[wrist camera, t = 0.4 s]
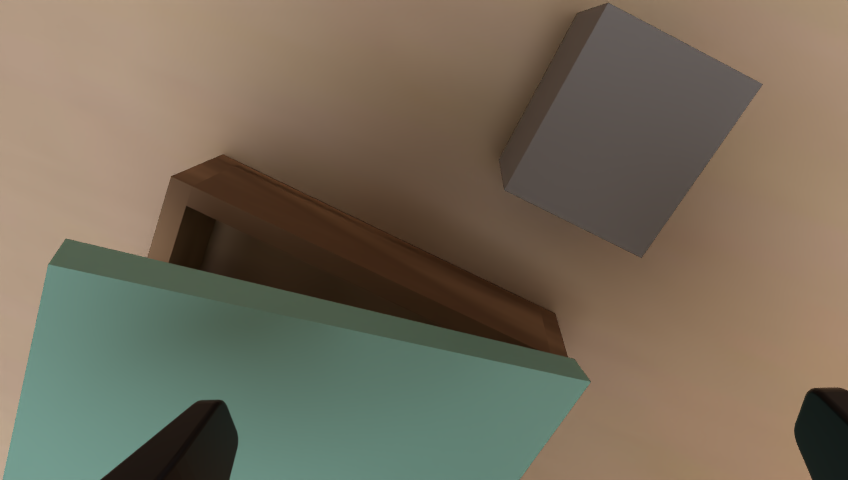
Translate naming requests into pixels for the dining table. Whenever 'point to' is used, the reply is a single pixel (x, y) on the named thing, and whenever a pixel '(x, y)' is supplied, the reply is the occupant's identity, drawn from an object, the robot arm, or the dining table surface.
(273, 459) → the lid
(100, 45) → the dining table surface
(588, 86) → the block
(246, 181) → the storage box
